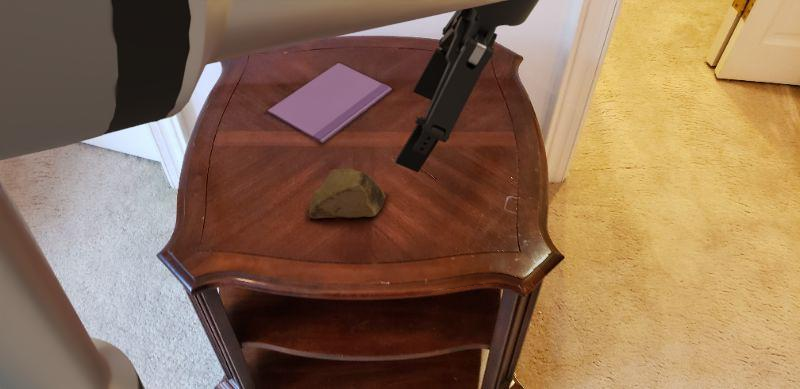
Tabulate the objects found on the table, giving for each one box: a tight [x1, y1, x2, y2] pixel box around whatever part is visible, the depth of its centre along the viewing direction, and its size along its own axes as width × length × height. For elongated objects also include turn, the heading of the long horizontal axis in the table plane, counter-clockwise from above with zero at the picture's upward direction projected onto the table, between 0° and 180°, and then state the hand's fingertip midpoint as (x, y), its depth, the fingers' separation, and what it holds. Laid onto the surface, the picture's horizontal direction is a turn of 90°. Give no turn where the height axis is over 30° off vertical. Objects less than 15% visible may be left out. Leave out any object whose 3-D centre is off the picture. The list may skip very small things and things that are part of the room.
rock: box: [308, 168, 386, 219], centre depth 79 cm, size 11×9×10 cm
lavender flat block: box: [267, 62, 393, 144], centre depth 98 cm, size 18×13×1 cm
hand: (415, 127), depth 65 cm, fingers open, 13 cm apart
